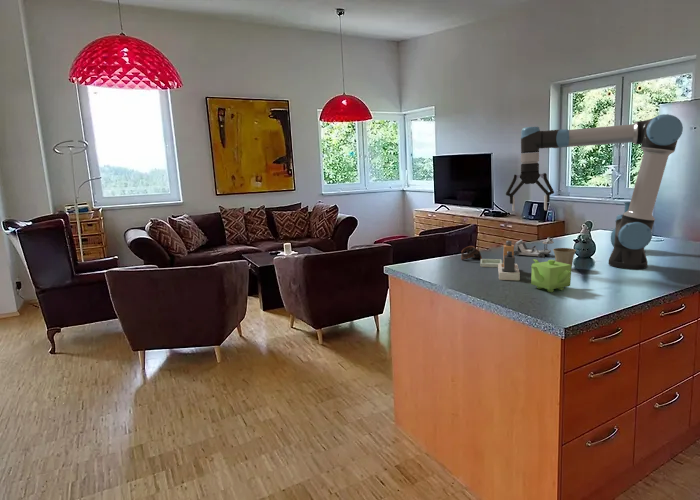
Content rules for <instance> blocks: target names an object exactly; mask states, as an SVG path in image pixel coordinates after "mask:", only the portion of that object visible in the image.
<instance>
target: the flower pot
mask: <svg viewBox="0 0 700 500" xmlns="http://www.w3.org/2000/svg"><path fill="white" fill-rule="evenodd" d="M552 251H553V254H554V260H555V261H557V262H561V263H565V264H570V265H571V269H572V268H573V267H572V266H573V261H574V257H575V254H576V252H577V249H575V248H572V247H571V248H570V247H556V248H553V249H552Z"/></svg>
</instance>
